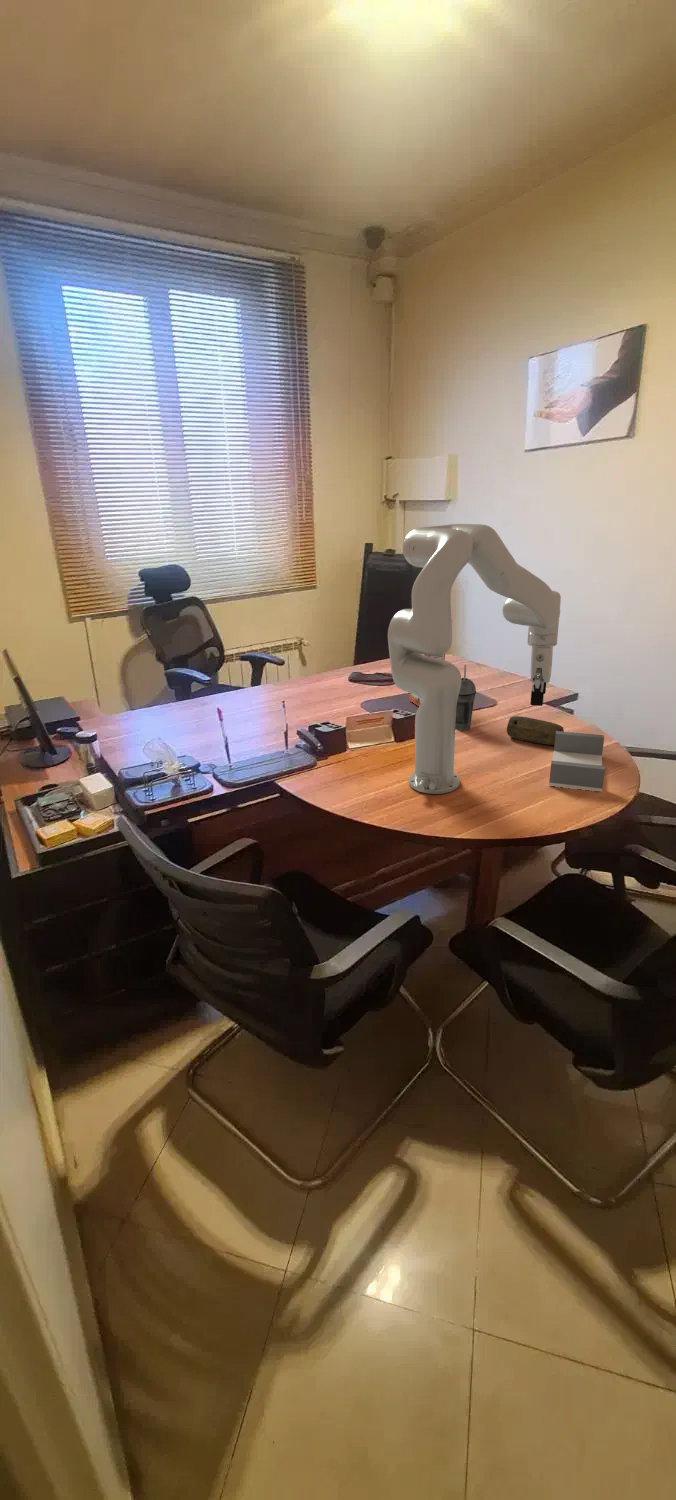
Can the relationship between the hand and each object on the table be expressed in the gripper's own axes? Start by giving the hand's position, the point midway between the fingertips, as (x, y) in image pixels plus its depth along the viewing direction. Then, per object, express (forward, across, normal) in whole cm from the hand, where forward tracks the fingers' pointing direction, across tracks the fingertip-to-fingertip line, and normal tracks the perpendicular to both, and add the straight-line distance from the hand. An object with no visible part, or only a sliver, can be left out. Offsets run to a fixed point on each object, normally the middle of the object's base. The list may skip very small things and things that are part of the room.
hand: (538, 699), depth 174 cm
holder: (+12, -18, -12) cm, 24 cm away
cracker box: (+13, +20, +36) cm, 44 cm away
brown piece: (+13, 0, 0) cm, 13 cm away
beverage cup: (+12, +4, +22) cm, 25 cm away
